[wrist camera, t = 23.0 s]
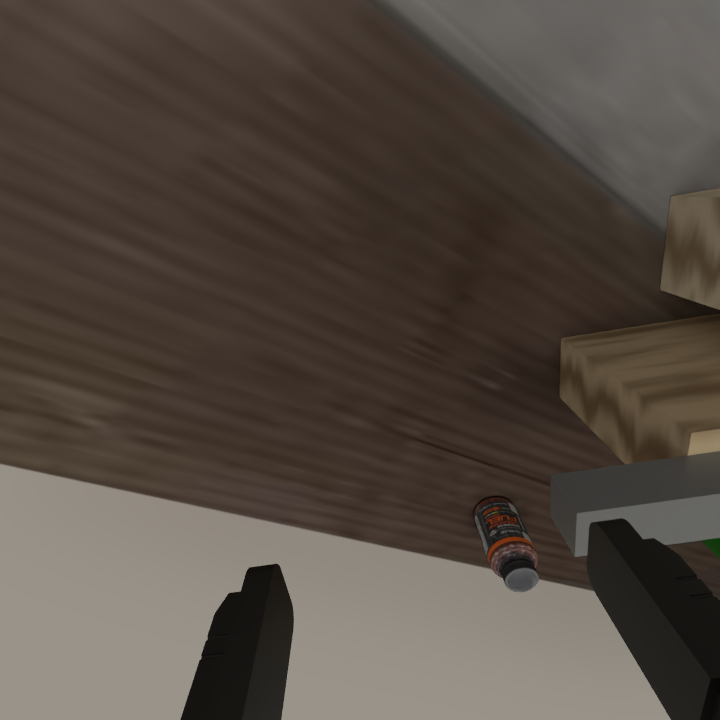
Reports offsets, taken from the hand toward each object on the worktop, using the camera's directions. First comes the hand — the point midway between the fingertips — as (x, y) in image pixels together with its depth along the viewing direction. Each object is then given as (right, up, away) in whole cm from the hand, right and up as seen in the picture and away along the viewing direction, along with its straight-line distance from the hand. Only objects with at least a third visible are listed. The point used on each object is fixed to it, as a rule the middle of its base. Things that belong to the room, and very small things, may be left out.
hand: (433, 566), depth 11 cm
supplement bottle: (+17, -16, +49) cm, 54 cm away
